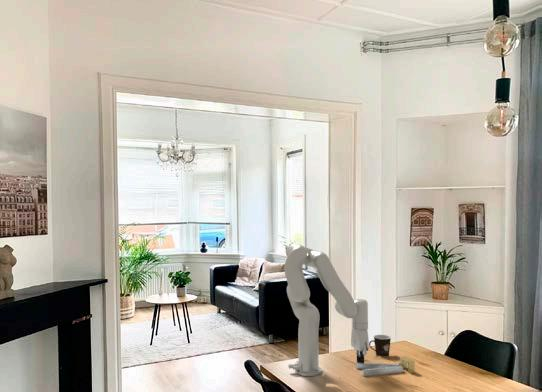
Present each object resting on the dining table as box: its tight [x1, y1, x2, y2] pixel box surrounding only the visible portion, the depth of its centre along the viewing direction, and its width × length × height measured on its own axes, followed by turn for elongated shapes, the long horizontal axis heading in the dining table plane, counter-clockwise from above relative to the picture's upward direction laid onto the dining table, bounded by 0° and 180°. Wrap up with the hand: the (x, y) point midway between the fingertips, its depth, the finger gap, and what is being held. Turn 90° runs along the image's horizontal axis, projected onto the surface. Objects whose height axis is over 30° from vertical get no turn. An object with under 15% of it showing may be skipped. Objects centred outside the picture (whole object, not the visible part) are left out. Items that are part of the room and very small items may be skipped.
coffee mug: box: [369, 334, 392, 357], centre depth 221 cm, size 12×9×10 cm
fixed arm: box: [361, 366, 404, 377], centre depth 193 cm, size 20×1×2 cm, turn 105°
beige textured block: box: [399, 355, 416, 374], centre depth 197 cm, size 3×7×5 cm, turn 15°
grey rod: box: [355, 361, 402, 370], centre depth 198 cm, size 21×2×3 cm, turn 83°
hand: (360, 363), depth 203 cm, fingers closed
